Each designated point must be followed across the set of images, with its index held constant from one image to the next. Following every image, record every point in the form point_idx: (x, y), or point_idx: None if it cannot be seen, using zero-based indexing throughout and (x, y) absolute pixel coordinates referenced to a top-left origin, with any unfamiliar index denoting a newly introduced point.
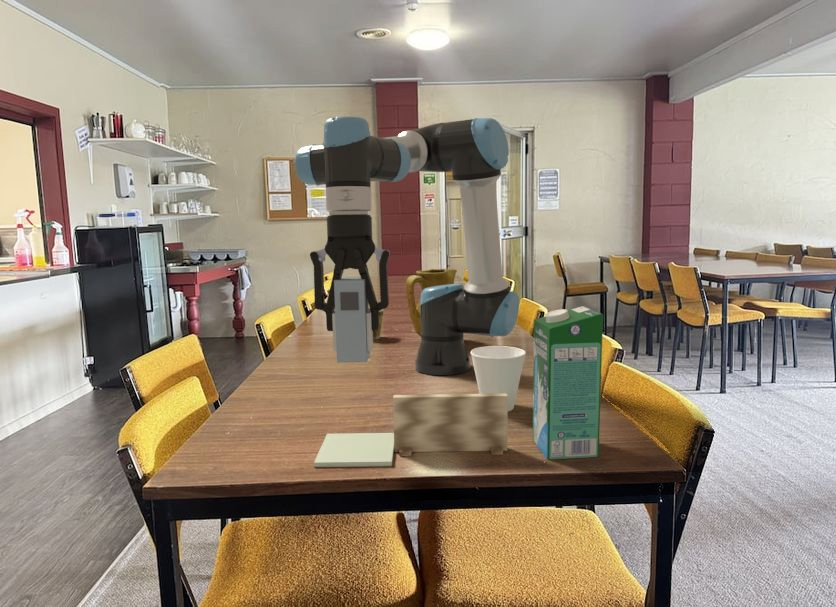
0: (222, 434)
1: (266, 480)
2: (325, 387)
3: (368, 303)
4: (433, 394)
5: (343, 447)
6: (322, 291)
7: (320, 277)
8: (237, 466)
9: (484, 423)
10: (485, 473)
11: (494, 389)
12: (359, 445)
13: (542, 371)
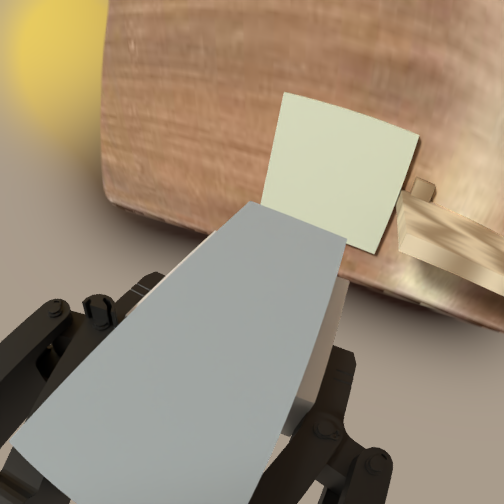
0: (126, 51)
1: (204, 225)
2: None
3: (288, 412)
4: (486, 268)
5: (309, 169)
6: (33, 385)
7: (4, 441)
8: (164, 171)
9: None
10: (474, 316)
11: None
12: (338, 170)
13: None
